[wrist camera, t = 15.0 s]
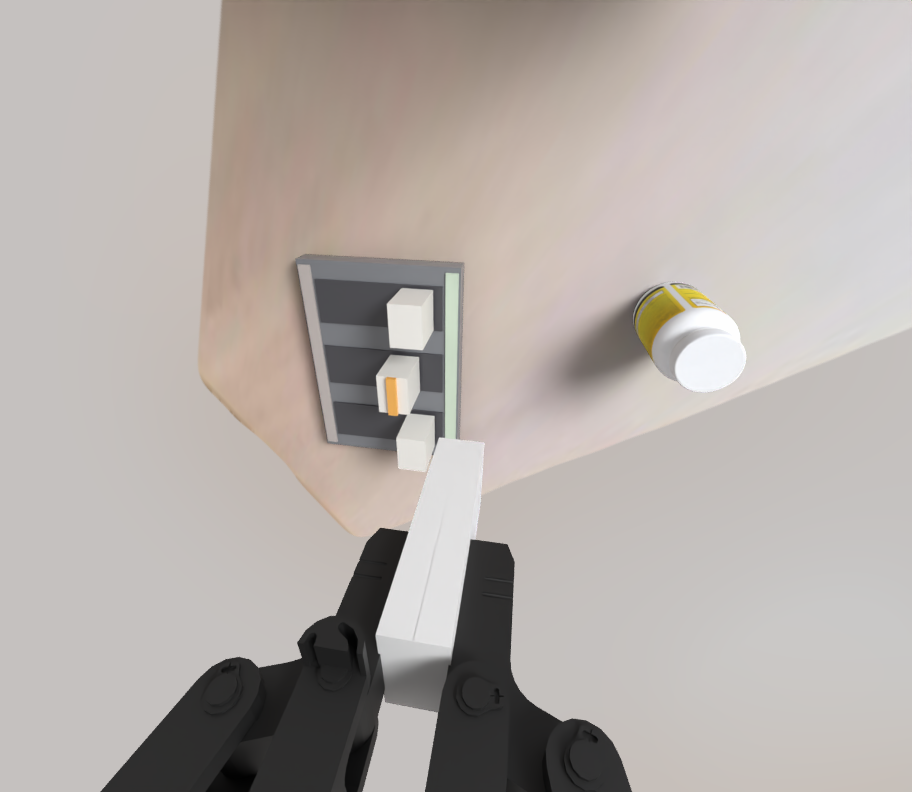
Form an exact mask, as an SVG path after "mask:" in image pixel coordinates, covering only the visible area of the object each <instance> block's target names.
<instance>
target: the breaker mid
mask: <svg viewBox="0 0 912 792" xmlns="http://www.w3.org/2000/svg"><path fill="white" fill-rule="evenodd" d="M376 382H377V393H378V404H379V412H385V413H388V415H391V416H398V414H404V415H409V414H410V412H411V410H412V408H413V405H414V403H415V401H416V399H417V397H418V395H419V392H420V371H419V357H412V356H401V355H390V356H389V358H388V359H387V360H386V362H385V363H384V365H383V366H382V368H381V369H380V371H379V372H378V374H377V375H376Z"/></svg>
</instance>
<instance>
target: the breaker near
mask: <svg viewBox="0 0 912 792" xmlns="http://www.w3.org/2000/svg"><path fill="white" fill-rule="evenodd" d="M387 314H388V329H389V343H390V348H401V349H413V350H423V349H424V347H425V345H426V344H427V342H428V340H429V338H430V336H431V334H432V332H433V331H434V326H433V290H425V289H410V288H401V289H400V290H399V291H398V292H397V294H396V295H395V296H394V297H393V298H392V299H391V300H390V301H389V302H388V303H387Z"/></svg>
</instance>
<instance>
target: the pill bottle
mask: <svg viewBox="0 0 912 792" xmlns="http://www.w3.org/2000/svg"><path fill="white" fill-rule="evenodd" d="M633 325H634V328H635V331H636V333H637V335H638V337H639V339H640V340H641V342H642V344H643V345H644V347H645V349H646V350H647V352H648V354H649V355H650V357H651V359H652V361H653V362H654V364H655V365H656V367H657V368H658V370H659V371H660V372H661V373H662V374H664V375H665V376H666V377H668V378H670V379H672V380H674V381H678V383H679V384H680V385H681V386H683V387H684V388H686V389H688V390H690V391H694V392H712V391H716V390H719V389H722V388H724V387H726V386H727V385H729V384H731V383H732V382H733V381H734V380H736V379H737V377H738V376H739V375H740V374H741V372H742V370H743V369H744V366H745V363H746V352H745V349H744V347H743V345H742V344H741V343H740V333H739V330H738V327H737V325H736V324H735V322H734V321H733V320H732V319H731V318H730V317H729V316H728V315H727V314H726V313H725V312H724V311H722V310H721V309H720V308H719V307H718V306H716V305H715V304H714V303H713V302H712V301H710V300H709V299H708V298H707V297H706V296H705V295H703V294H702V293H701V292H700V291H699V290H697V289H696V288H694V287H693V286H691V285H689V284H686V283H682V282H667V283H663V284H660V285H658V286H655V287H654V288H652V289H650V290H649V291H647V292H646V293H645V294H644V295H643V296H642V297H641V299H640V300H639V302H638V303H637V305H636V307H635V310H634V314H633Z"/></svg>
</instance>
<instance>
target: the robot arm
mask: <svg viewBox="0 0 912 792" xmlns="http://www.w3.org/2000/svg"><path fill="white" fill-rule="evenodd" d="M484 443H485V442H477V441H468V440H458V439H449V438H440V437H439V439H438V443H437V446H436V449H435V452H434V455H433V458H432V461H431V464H430V467H429V470H428V474H427V477H426V480H425V483H424V486H423V489H422V492H421V495H420V498H419V501H418V505H417V508H416V511H415V514H414V517H413V520H412V523H411V526H410V529H409V532H407V531H399V530H392V529H385V528H380V529H379V530H378V531H377V532H376V533H375V534H374V535H373V536H372V537H371V538H370V539H369V540H368V541H367V543H366V545H365V548H364V550H363V552H362V555H361V557H360V561H359V562H358V564H357V567H356V569H355V571H354V575H353V577H352V579H351V581H350V583H349V585H348V588H347V590H346V593H345V595H344V597H343V600H342V602H341V605H340V607H339V609H338V612H337V614H336V616H329V617H327V618H324V619H322V620H319V621H317V622H316V623H314V625H312V626H311V627H309V628H308V629H307V630H306V631H305V632H304V634H303V635H302V637H301V638H300V640H299V641H298V642H297V644H298V647H299V649H300V653H301V656H302V658H301V659H298V660H295V661H292V662H288V663H283V664H277V665H271V666H266V667H260V668H258V667H257V666H256V665H255V664H254V663H253V662H252V661H251V660H249V659H245V658H241V657H236V658H231V659H226V660H224V661H222V662H220V663H218V664H216V665H214V666H212V667H211V668H210V669H209V670H208V671H206V672H205V673H204V674H203V675H202V676H201V677H200V678H199V679H198V680H197V681H196V682H195V683H194V685H193V686H192V687H191V688H190V689H189V691H187V693H186V694H185V695H184V696H183V697H182V698H181V700H180V701H179V702H178V703H177V704H176V705H175V706H174V708H173V709H172V710H171V711H170V712H169V714H168V715H167V716H166V717H165V718H164V719H163V720H162V722H161V723H160V724H159V725H158V726H157V727H156V728H155V730H154V731H153V732H152V733H151V734H150V735H149V736H148V738H147V739H146V740H145V741H144V742H143V743H142V745H141V746H140V747H139V748H138V749H137V750H136V751H135V753H134V754H133V755H132V756H131V757H130V758H129V760H128V761H127V762H126V763H125V764H124V765H123V766H122V768H121V769H120V770H119V771H118V772H117V773H116V774H115V776H114V777H113V778H112V779H111V780H110V781H109V783H108V784H107V785H106V786H105V787H104V788H103V789H102V791H101V792H362V791H363V787H364V784H365V780H366V776H367V772H368V768H369V764H370V761H371V757H372V753H373V749H374V745H375V742H376V738H377V732H378V713H379V709H380V705H381V702H382V698H383V695H384V697H385V702H387V703H392V704H397V705H402V706H408V707H413V708H418V709H424V710H428V711H434V712H438V719H437V724H436V730H435V736H434V742H433V748H432V754H431V759H430V766H429V771H428V777H427V783H426V789H425V792H632V791H631V788H630V785H629V782H628V779H627V776H626V773H625V770H624V767H623V764H622V761H621V758H620V756H619V754H618V752H617V750H616V748H615V746H614V744H613V742H612V741H611V740H610V739H609V738H608V737H607V735H606V734H605V733H604V732H603V731H602V730H601V729H600V728H598V727H597V726H595V725H593V724H591V723H590V722H588V721H586V720H578V719H570V720H567V721H564V722H562V721H560V720H558V719H557V718H555V717H553V716H552V715H550V714H548V713H547V712H545V711H543V710H542V709H540V708H538V707H536V706H535V705H534V704H533V703H531V702H530V701H529V700H527V699H526V697H525V696H524V695H523V694H522V693H521V692H520V690H519V688H518V686H517V685H516V683H515V681H514V678H513V675H512V672H511V662H510V654H511V630H512V607H513V583H514V559H513V557H512V555H511V552H510V549H509V547H508V545H507V544H501V543H494V542H487V541H480V540H475V538H476V531H477V525H478V517H479V511H480V504H481V489H482V474H483V458H484Z"/></svg>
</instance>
